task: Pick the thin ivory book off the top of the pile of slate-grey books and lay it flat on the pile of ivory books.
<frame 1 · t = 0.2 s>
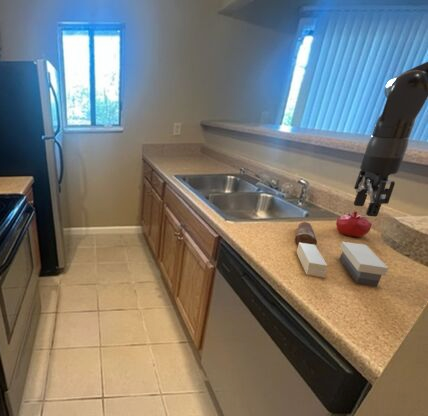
hand: (364, 210, 79), 19 cm above the worktop, tool pointing down, fingers open, 8 cm apart
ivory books: (309, 264, 88), on the worktop
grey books: (356, 272, 83), on the worktop
pomegranate: (349, 234, 107), on the worktop
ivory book: (360, 260, 82), point 4 cm above the worktop, touching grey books
bread: (301, 238, 104), on the worktop
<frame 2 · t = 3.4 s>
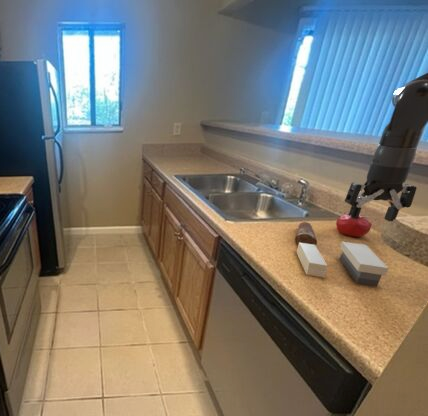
hand: (370, 219, 78), 17 cm above the worktop, tool pointing down, fingers open, 8 cm apart
nothing on the worktop moved.
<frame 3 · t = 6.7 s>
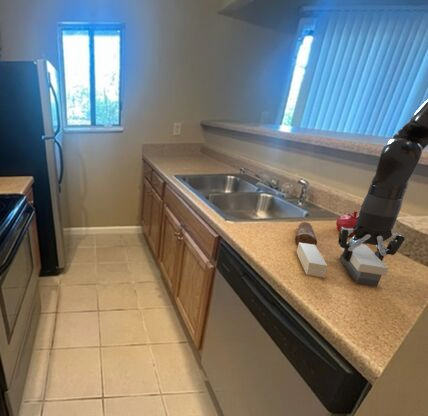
hand: (360, 262, 82), 3 cm above the worktop, tool pointing down, fingers closed on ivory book, 6 cm apart
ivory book: (360, 260, 82), point 4 cm above the worktop, touching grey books, gripper
everything else where it was.
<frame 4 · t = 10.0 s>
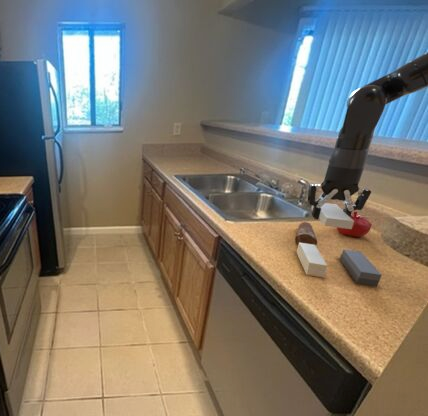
hand: (329, 219, 81), 16 cm above the worktop, tool pointing down, fingers closed on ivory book, 6 cm apart
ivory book: (329, 218, 81), point 16 cm above the worktop, touching gripper
everything else where it was.
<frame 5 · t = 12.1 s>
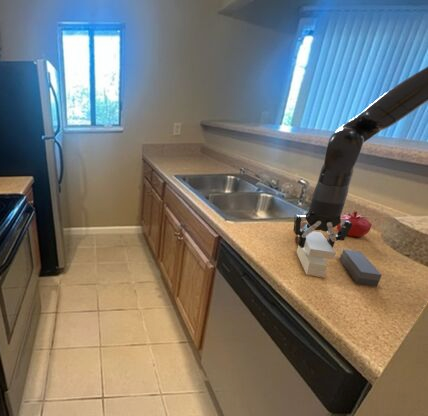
hand: (313, 248, 86), 6 cm above the worktop, tool pointing down, fingers closed on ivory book, 6 cm apart
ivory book: (314, 246, 85), point 6 cm above the worktop, touching gripper
everything else where it was.
when the fingers open (3 cm above the worktop, at t = 13.4 s): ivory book stays where it is, resting on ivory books.
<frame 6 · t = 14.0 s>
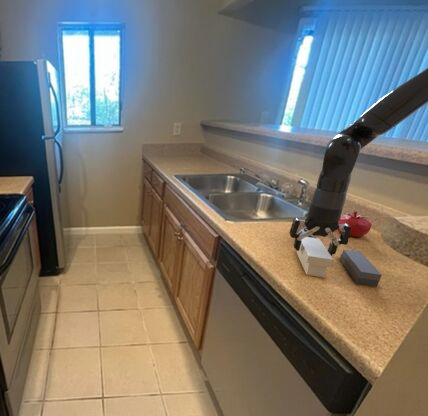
hand: (313, 252, 86), 4 cm above the worktop, tool pointing down, fingers open, 8 cm apart
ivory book: (312, 253, 86), point 4 cm above the worktop, touching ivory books
everything else where it was.
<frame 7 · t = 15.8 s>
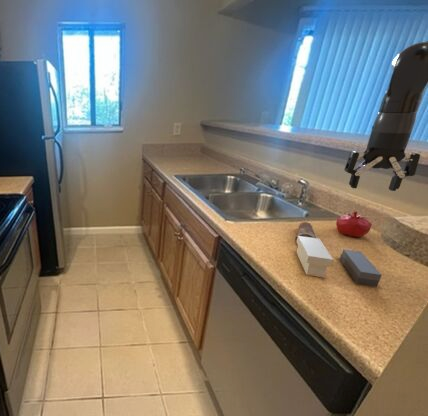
hand: (372, 188, 78), 25 cm above the worktop, tool pointing down, fingers open, 8 cm apart
nothing on the worktop moved.
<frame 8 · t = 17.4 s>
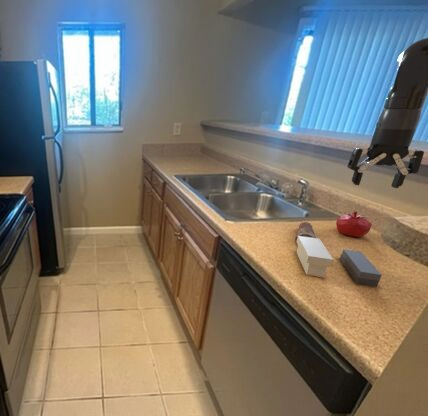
hand: (375, 185, 78), 26 cm above the worktop, tool pointing down, fingers open, 8 cm apart
nothing on the worktop moved.
at the end: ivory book 0.1 cm off-centre on the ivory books, point 4.0 cm above the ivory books's base; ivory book tilted 0°; the gripper is holding nothing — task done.
